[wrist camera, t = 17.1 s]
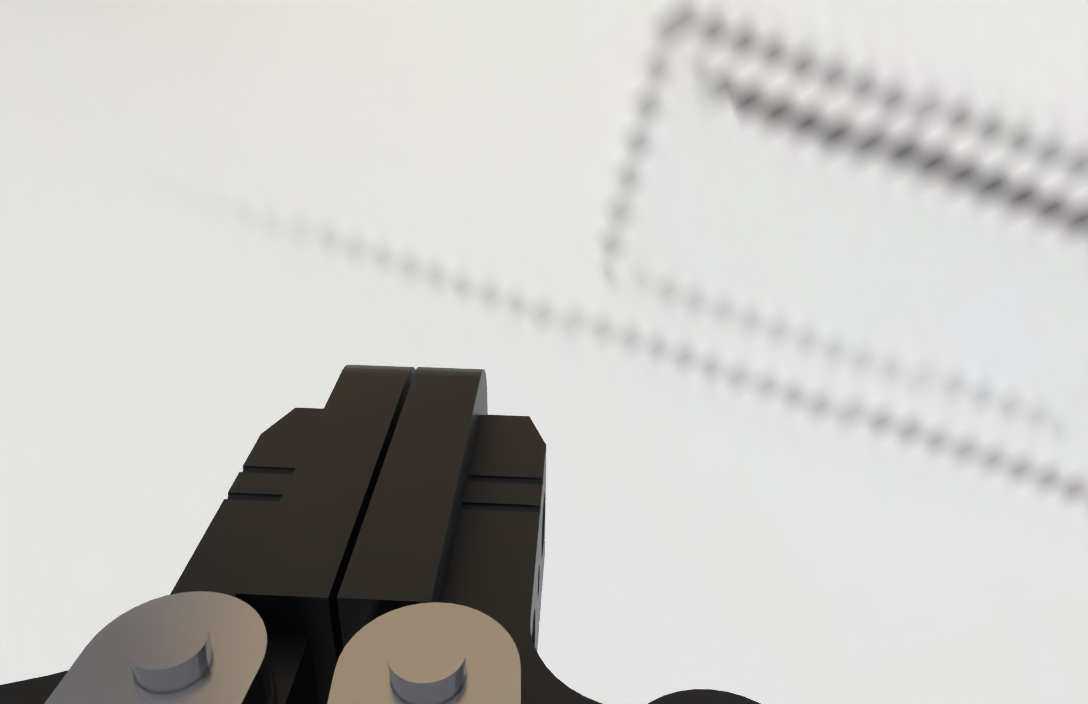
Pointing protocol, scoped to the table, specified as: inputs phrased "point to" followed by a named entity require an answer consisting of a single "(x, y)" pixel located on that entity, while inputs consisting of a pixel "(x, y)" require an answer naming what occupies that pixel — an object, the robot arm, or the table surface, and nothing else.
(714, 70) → the table surface
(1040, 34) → the table surface
